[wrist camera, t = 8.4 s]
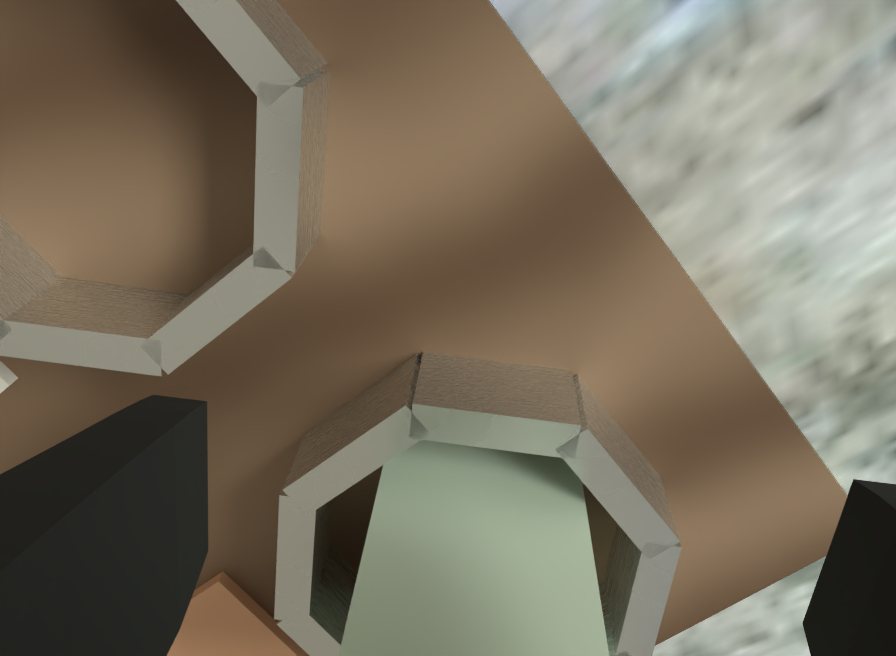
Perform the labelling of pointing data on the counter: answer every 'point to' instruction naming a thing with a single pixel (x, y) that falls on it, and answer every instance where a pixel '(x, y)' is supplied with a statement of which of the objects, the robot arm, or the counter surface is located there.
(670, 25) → the counter surface
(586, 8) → the counter surface
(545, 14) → the counter surface
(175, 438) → the robot arm
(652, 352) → the walnut board
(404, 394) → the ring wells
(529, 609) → the sage plug
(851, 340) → the counter surface
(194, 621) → the tags
